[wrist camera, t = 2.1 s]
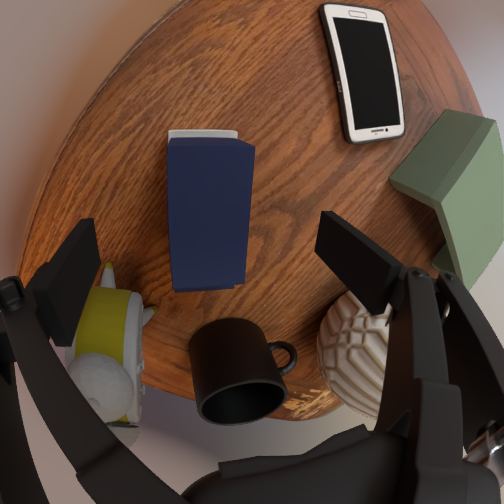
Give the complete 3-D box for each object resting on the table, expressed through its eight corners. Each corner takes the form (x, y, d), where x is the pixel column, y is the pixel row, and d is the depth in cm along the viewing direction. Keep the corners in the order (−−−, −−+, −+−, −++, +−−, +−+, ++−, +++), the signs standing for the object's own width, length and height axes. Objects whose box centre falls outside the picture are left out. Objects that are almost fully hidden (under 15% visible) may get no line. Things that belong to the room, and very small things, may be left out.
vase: (411, 285, 37) (495, 371, 20) (345, 358, 41) (405, 453, 24) (357, 239, 30) (487, 362, 13) (275, 338, 34) (340, 479, 17)
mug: (289, 344, 35) (316, 397, 28) (207, 376, 34) (219, 433, 27) (272, 295, 30) (304, 355, 23) (174, 334, 30) (180, 401, 22)
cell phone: (378, 11, 17) (384, 9, 16) (400, 136, 25) (406, 137, 24) (315, 3, 16) (320, 0, 15) (344, 145, 24) (349, 146, 23)
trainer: (169, 129, 20) (163, 136, 13) (232, 130, 21) (259, 137, 14) (172, 270, 26) (174, 328, 19) (225, 267, 27) (244, 322, 20)
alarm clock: (94, 250, 23) (43, 384, 10) (162, 259, 25) (163, 401, 12) (100, 338, 27) (85, 455, 15) (155, 344, 30) (162, 464, 17)
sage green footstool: (446, 108, 24) (496, 120, 17) (477, 208, 34) (511, 227, 27) (387, 177, 27) (440, 203, 20) (432, 267, 37) (465, 295, 30)
